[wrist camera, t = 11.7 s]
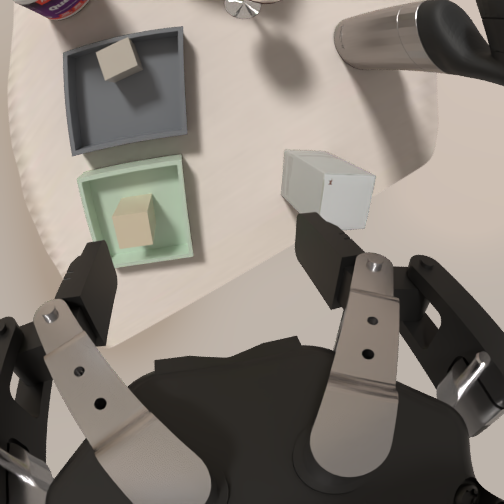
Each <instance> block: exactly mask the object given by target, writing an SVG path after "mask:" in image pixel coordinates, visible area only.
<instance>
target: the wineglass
mask: <svg viewBox="0 0 504 504" xmlns="http://www.w3.org/2000/svg"><path fill="white" fill-rule="evenodd" d="M279 1H281V0H225V2H224V5H225V9H226V10H227V12H228V13H229V14H230V15H232V16H234V17H236V18H241V19H246V18H251V17H254V16H255V15H256V14H258V12H259V11H260V8H261V4H271V3H275V2H279Z"/></svg>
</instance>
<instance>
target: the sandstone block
mask: <svg viewBox="0 0 504 504" xmlns="http://www.w3.org/2000/svg"><path fill="white" fill-rule="evenodd" d="M112 219H113V224H114V228H115V232H116V236H117V240H118V244H119V248H120V249H124V248H131V247H139V246H146V245H153V242H154V235H155V228H156V217H155V211H154V205H153V198H152V193H151V194H144V195H138V196H131V197H125V198H121V200H120V202H119V204H118V206H117V208H116V210H115V212H114V214H113V216H112Z"/></svg>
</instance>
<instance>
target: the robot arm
mask: <svg viewBox="0 0 504 504" xmlns="http://www.w3.org/2000/svg"><path fill="white" fill-rule="evenodd" d="M476 3H477V6H478V9H479V12H480V15H481V18H482V22H483V25H484V28H485V31H486V35H487V39H488V43H489V45H488V44H487V42H486V41H485V40H484V38H483V37H482V36H481V34H480V33H479V31H478V30H477V28H476V26H475V25H474V23H473V22H472V20H471V19H470V17H469V16H468V15H467V14H466V13H465V11H464V10H463V9H462V8H460V7H459V6H458V5H456V4H455V3H453V2H451V1H449V0H427V1H420V2H414V3H408V4H403V5H398V6H393V7H388V8H384V9H380V10H376V11H372V12H368V13H364V14H360V15H357V16H354V17H350V18H347V19H345V20H342V21H341V22H340V23H339V24H338V25H337V27H336V29H335V32H334V41H335V46H336V49H337V51H338V52H339V54H340V56H341V57H342V58H343V60H345V61H346V62H347V63H348V64H349V65H351V66H352V67H355V68H357V69H362V70H409V71H424V72H436V73H445V74H453V75H460V76H465V77H470V78H476V79H480V80H485V81H488V82H492V83H496V84H499V85H502V86H504V0H476ZM295 252H296V256H297V259H298V261H299V262H300V264H301V265H302V267H303V268H304V270H305V271H306V273H307V274H308V276H309V277H310V279H311V280H312V282H313V283H314V285H315V286H316V288H317V289H318V291H319V292H320V294H321V295H322V297H323V298H324V300H325V301H326V303H327V304H328V306H329V308H330V309H331V310H332V309H336V308H340V307H342V308H343V309H344V311H343V315H342V318H341V323H340V326H339V330H338V334H337V338H336V342H335V345H334V349H333V351H332V350H330V349H326V348H322V347H316V346H306V345H301V343H300V342H299V339H298V337H297V336H293V337H289V338H285V339H280V340H276V341H271V342H266V343H263V344H260V345H258V346H255V347H253V348H251V349H249V350H246V351H244V352H241V353H239V354H237V355H234V356H232V357H228V358H218V357H199V356H198V357H197V356H185V357H177V358H171V359H170V358H169V359H161V360H155V371H153V372H151V373H148V374H146V375H144V376H142V377H140V378H139V379H137V380H135V381H134V382H133V383H132V384H130V385H129V386H128V387H127V386H126V385H125V384H124V382H123V381H122V380H121V379H120V378H119V376H118V375H117V374H116V373H115V371H114V370H113V369H112V368H111V367H110V365H109V364H108V362H107V361H106V360H105V359H104V357H103V356H102V355H101V353H100V352H99V351H98V349H97V348H96V346H106V341H107V335H108V329H109V324H110V318H111V313H112V308H113V303H114V299H115V294H116V289H117V275H116V271H115V268H114V265H113V262H112V259H111V255H110V252H109V249H108V246H107V243H106V241H105V240H101V241H95V242H89V243H87V244H86V246H85V248H84V250H83V252H82V254H81V256H78V257H77V258H76V259H75V260H74V261H73V262H72V263H71V264H70V266H69V268H68V270H67V273H66V274H65V276H64V280H63V281H62V283H61V285H60V287H59V290H58V292H57V294H56V296H55V299H53V300H50V301H48V302H46V303H44V304H43V305H42V306H40V307H39V308H38V310H37V311H36V313H35V315H34V318H33V322H31V323H28V324H25V325H23V326H20V327H19V326H18V324H17V323H16V321H15V319H14V318H12V317H5V318H2V319H0V504H504V500H502V499H500V498H498V497H496V496H495V495H493V494H491V493H490V492H488V491H487V490H485V489H484V488H483V487H482V486H481V485H480V484H479V483H478V481H477V480H476V478H475V475H474V472H473V467H472V462H471V455H470V445H469V444H470V443H469V438H470V437H474V436H476V435H478V434H480V433H481V432H482V431H483V430H485V429H486V428H487V427H488V426H490V425H491V424H492V423H493V422H495V421H496V420H497V419H498V418H499V417H500V416H502V415H503V414H504V332H503V331H502V330H501V329H500V327H499V326H498V325H497V324H496V323H495V322H494V320H493V319H492V318H491V317H490V316H489V315H488V313H487V312H486V311H485V310H484V309H483V308H482V307H481V306H480V305H479V303H478V302H477V301H476V300H475V299H474V298H473V297H472V296H471V295H470V294H469V293H468V292H467V291H466V290H465V289H464V288H463V287H462V285H461V284H459V283H458V281H457V280H456V279H455V278H453V276H451V274H450V273H449V272H447V271H446V270H445V269H444V268H443V267H442V266H441V265H440V264H439V263H438V262H437V261H436V260H434V259H432V258H430V257H427V256H424V255H415V256H413V257H412V258H411V259H410V262H409V266H408V267H393V265H392V263H391V262H390V260H389V259H387V258H386V257H384V256H382V255H380V254H376V253H370V252H368V253H365V252H364V251H363V250H362V249H361V248H360V247H359V246H358V245H357V244H356V243H355V242H354V241H353V240H352V239H350V237H349V236H348V235H347V234H345V233H344V232H343V231H342V230H341V229H340V228H339V227H338V226H336V225H334V224H332V223H330V222H326V221H325V220H324V219H323V218H322V217H321V216H320V215H319V214H318V213H317V212H310V213H300V214H298V216H297V224H296V239H295ZM429 303H431V304H432V305H433V306H434V307H435V309H436V310H437V311H438V312H439V314H440V316H441V326H440V328H439V329H438V328H437V327H436V326H435V324H434V323H433V322H432V320H431V319H430V318H429V317H428V315H427V314H426V313H425V311H426V309H427V307H428V305H429ZM399 332H400V334H401V335H402V337H403V338H404V340H405V341H406V343H407V344H408V346H409V347H410V349H411V350H412V352H413V353H414V355H415V356H416V358H417V359H418V361H419V362H420V364H421V365H422V367H423V369H424V370H425V372H426V373H427V375H428V376H429V378H430V380H431V381H432V383H433V385H434V386H435V388H436V389H437V399H436V398H434V397H431V396H429V395H427V394H424V393H422V392H420V391H418V390H415V389H413V388H411V387H409V386H406V385H404V384H402V383H400V382H398V381H396V375H397V362H398V346H399ZM13 372H14V373H15V374H16V375H17V376H18V377H19V378H20V379H19V383H18V388H17V393H16V398H15V400H14V399H13V398H12V396H11V393H10V382H11V378H12V374H13ZM52 380H54V382H55V384H56V386H57V388H58V390H59V392H60V394H61V396H62V398H63V400H64V402H65V404H66V405H67V407H68V409H69V411H70V412H71V414H72V416H73V418H74V419H75V421H76V423H77V424H78V426H79V427H80V429H81V431H82V432H83V434H84V435H85V437H86V439H85V440H84V441H83V443H82V444H81V445H80V446H79V448H78V449H77V450H76V451H75V453H74V454H73V456H72V457H71V458H70V459H69V461H68V462H67V463H66V464H65V466H64V467H63V468H62V470H61V471H60V472H59V474H58V475H57V476H56V477H55V479H54V478H53V477H52V474H51V471H50V470H49V468H48V466H47V465H46V436H47V420H48V411H49V401H50V393H51V387H52Z"/></svg>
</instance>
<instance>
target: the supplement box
mask: <svg viewBox="0 0 504 504" xmlns="http://www.w3.org/2000/svg"><path fill="white" fill-rule="evenodd" d="M375 179H376V176H375V175H374V174H372V173H370V172H368V171H366V170H364V169H362V168H360V167H358V166H356V165H354V164H352V163H350V162H348V161H346V160H344V159H342V158H339V157H337V156H335V155H333V154H331V153H329V152H326V151H313V150H285V151H284V163H283V175H282V187H281V195H282V196H283V197H284V198H285V199H286V200H287V201H288V202H289V203H290V204H291V205H292V206H293V207H294V208H295V209H296V210H297V211H298V212H299V213H310V212H317V213H318V214H319V215H320V216H321V217H322V218H323V219H324V220H325V221H326V222H330V223H332V224H334V225H336V226H338V227H339V228H340V229H341V230H352V229H364V228H365V226H366V221H367V217H368V212H369V208H370V203H371V198H372V193H373V188H374V184H375Z"/></svg>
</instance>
